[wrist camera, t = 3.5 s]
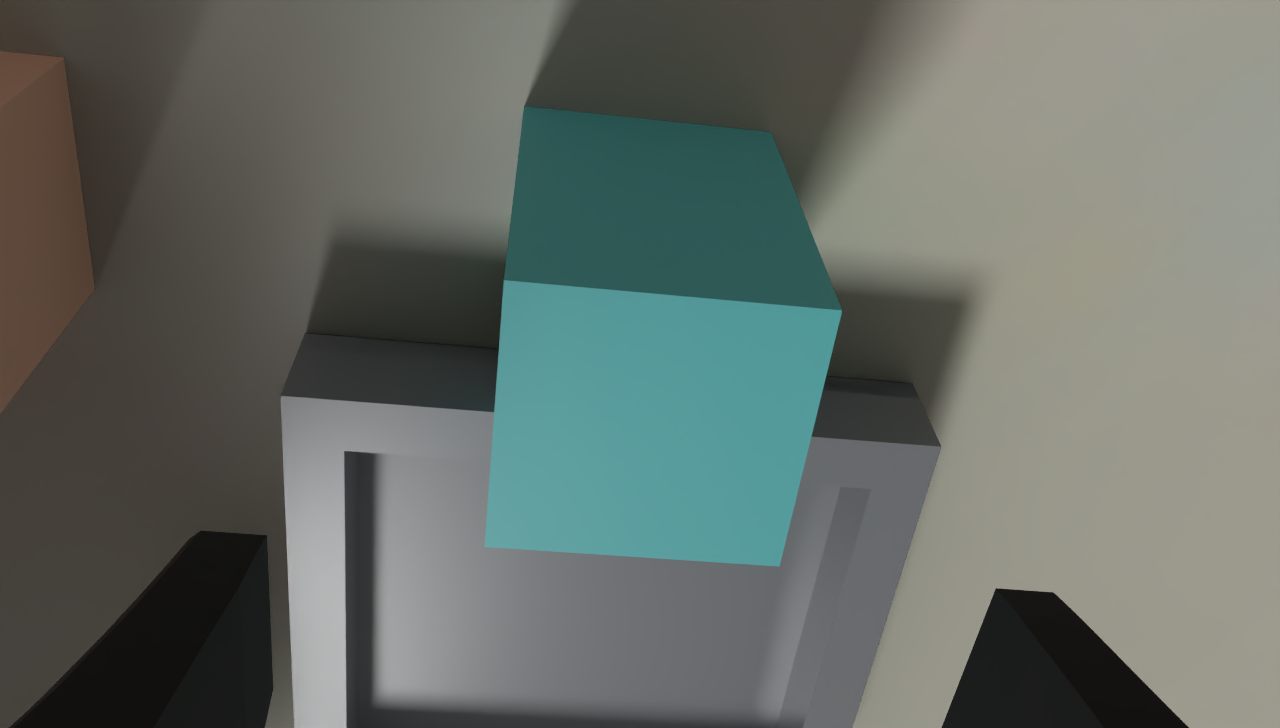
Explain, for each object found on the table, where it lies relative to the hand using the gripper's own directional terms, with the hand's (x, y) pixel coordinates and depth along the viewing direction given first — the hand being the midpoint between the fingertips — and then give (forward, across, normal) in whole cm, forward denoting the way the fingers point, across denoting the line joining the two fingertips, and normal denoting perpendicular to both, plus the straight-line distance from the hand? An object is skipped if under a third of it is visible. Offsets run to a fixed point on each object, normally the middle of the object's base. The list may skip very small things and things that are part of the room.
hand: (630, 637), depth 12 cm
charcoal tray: (+9, 0, +8) cm, 12 cm away
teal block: (+10, 0, 0) cm, 10 cm away
